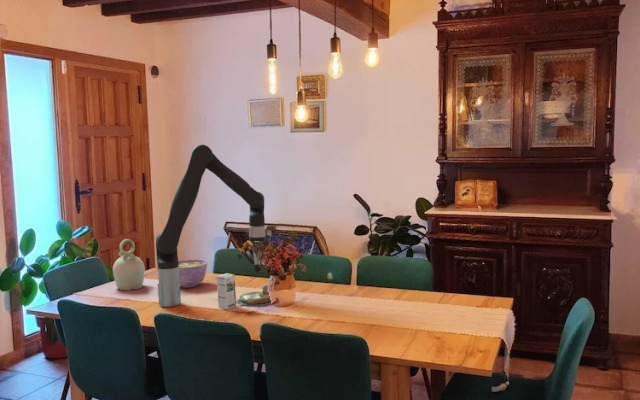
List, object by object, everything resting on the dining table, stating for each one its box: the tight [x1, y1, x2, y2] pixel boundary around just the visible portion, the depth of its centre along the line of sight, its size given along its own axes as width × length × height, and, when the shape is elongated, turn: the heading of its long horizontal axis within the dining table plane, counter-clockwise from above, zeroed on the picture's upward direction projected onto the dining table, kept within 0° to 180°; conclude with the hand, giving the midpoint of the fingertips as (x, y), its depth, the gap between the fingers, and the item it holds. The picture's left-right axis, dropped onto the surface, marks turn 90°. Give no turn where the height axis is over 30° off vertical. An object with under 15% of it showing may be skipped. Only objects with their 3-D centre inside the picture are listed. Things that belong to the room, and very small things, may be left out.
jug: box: [112, 238, 146, 291], centre depth 305 cm, size 15×16×25 cm
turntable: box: [239, 284, 271, 304], centre depth 274 cm, size 16×16×5 cm
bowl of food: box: [178, 258, 208, 288], centre depth 306 cm, size 20×20×12 cm
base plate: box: [237, 298, 272, 307], centre depth 274 cm, size 19×18×1 cm
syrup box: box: [216, 273, 237, 310], centre depth 266 cm, size 6×6×14 cm
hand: (258, 272), depth 279 cm, fingers closed
